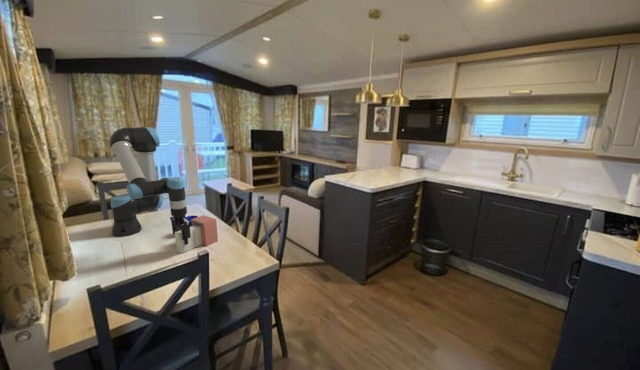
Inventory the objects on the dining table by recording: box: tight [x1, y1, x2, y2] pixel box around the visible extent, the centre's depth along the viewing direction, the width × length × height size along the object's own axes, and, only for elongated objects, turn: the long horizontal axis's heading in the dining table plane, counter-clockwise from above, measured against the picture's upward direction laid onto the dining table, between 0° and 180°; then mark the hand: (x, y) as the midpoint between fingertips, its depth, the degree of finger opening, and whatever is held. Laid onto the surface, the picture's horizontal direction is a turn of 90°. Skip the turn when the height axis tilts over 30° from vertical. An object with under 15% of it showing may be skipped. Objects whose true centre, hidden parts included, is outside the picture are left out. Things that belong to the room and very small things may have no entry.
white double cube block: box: [174, 224, 203, 254], centre depth 153 cm, size 4×15×11 cm, turn 150°
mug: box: [185, 215, 199, 227], centre depth 171 cm, size 8×12×10 cm
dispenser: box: [190, 214, 219, 247], centre depth 160 cm, size 11×9×14 cm
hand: (183, 248), depth 150 cm, fingers closed on white double cube block, 4 cm apart
